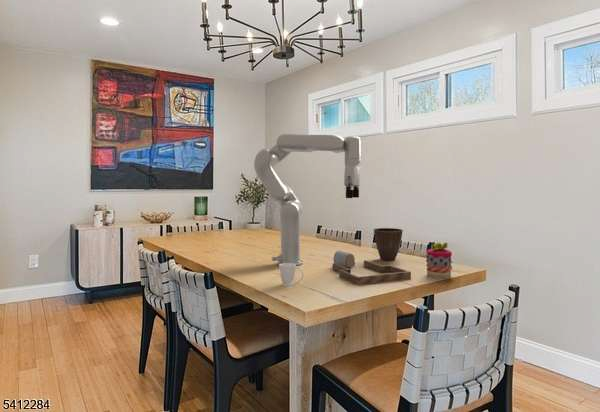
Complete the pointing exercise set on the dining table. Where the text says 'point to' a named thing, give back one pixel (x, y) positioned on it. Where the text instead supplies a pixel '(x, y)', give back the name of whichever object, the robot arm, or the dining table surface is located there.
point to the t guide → (392, 276)
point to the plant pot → (388, 242)
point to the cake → (439, 261)
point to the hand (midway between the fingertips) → (352, 197)
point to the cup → (288, 273)
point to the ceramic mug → (344, 259)
